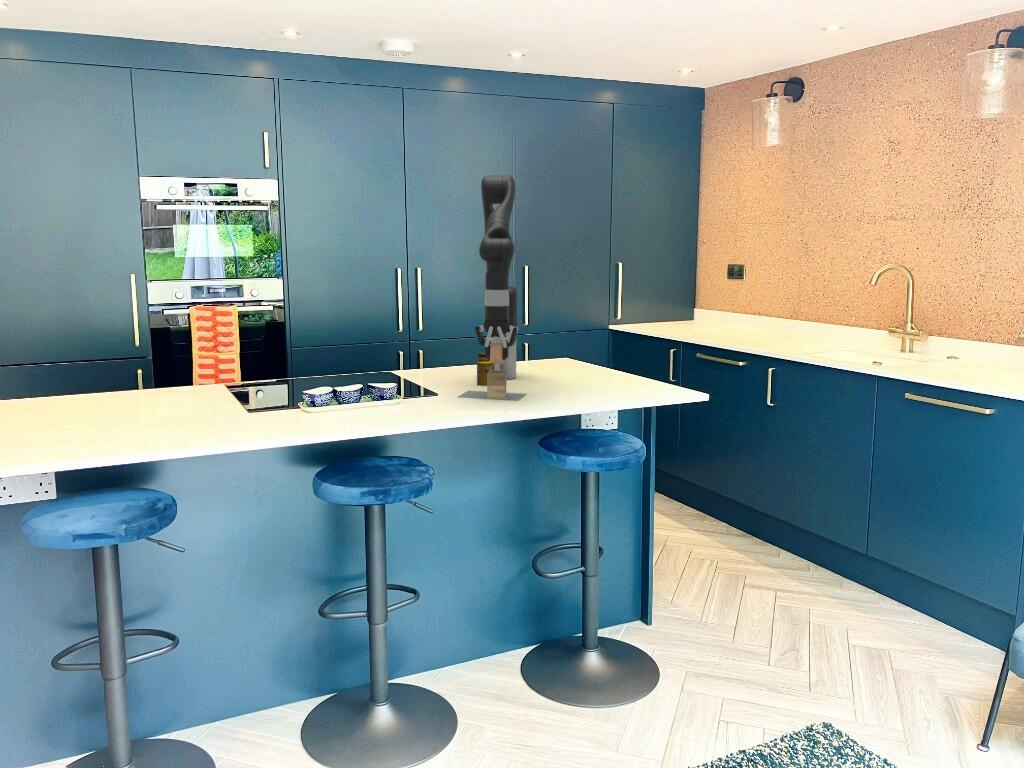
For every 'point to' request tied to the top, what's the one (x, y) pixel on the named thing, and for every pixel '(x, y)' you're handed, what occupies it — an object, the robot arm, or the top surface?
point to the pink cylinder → (496, 353)
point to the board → (484, 396)
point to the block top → (496, 378)
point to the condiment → (483, 369)
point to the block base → (496, 392)
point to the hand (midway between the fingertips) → (496, 358)
